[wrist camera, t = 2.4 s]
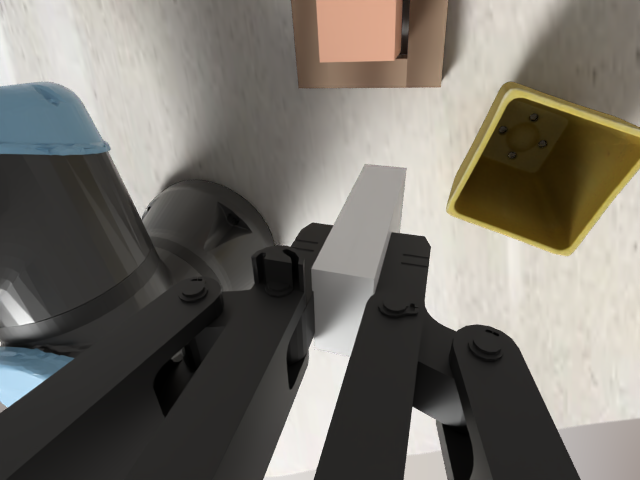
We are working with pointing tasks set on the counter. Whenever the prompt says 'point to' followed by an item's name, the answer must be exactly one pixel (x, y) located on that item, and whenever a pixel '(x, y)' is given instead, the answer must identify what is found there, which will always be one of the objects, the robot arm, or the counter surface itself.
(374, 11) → the key rust
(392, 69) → the board
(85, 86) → the counter surface
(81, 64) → the counter surface
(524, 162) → the flower pot
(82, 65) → the counter surface
